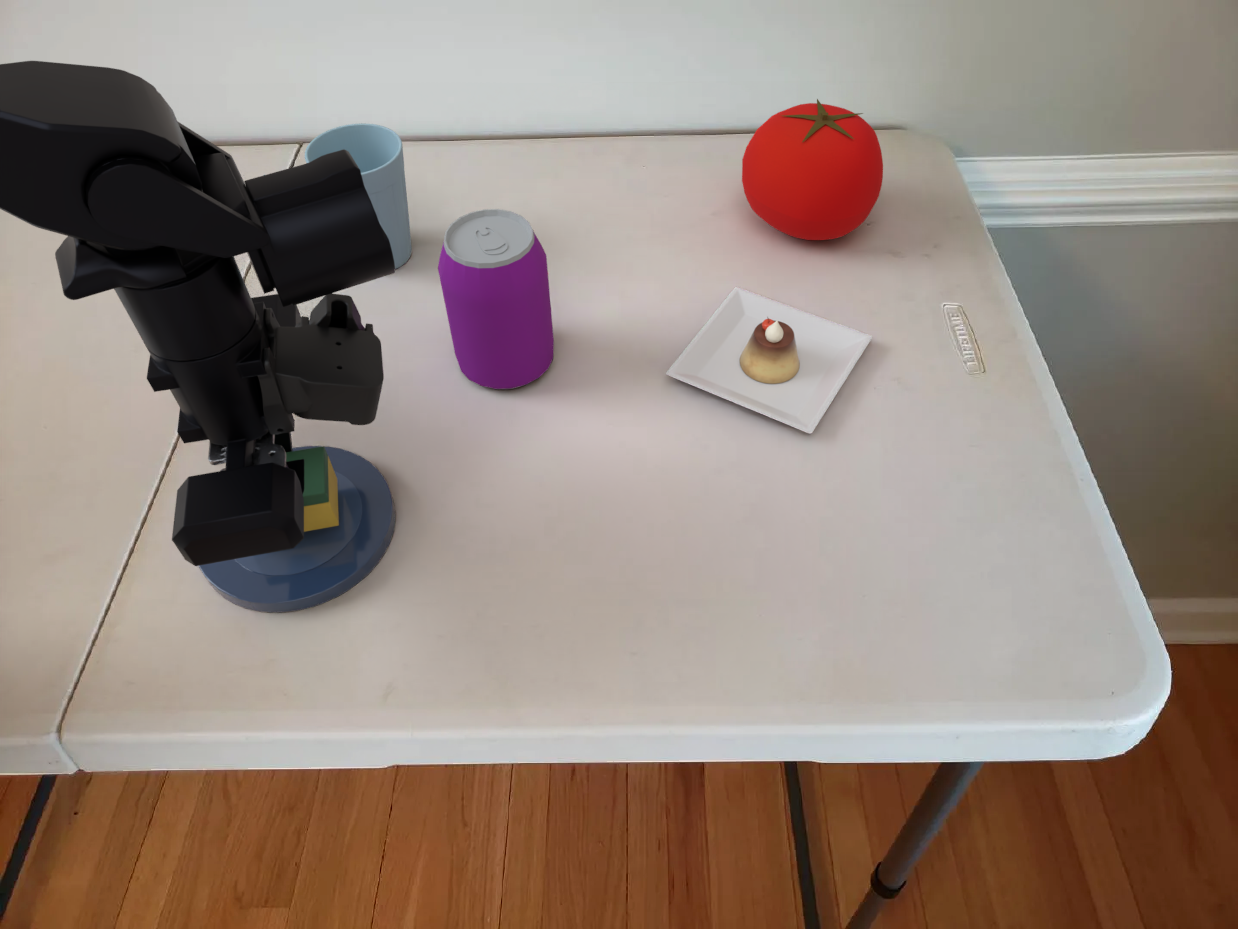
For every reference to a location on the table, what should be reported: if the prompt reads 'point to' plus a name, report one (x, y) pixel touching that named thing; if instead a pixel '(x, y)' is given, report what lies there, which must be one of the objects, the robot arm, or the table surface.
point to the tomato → (813, 171)
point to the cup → (375, 176)
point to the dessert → (771, 358)
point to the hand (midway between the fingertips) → (286, 504)
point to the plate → (317, 548)
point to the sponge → (318, 488)
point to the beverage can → (497, 298)
